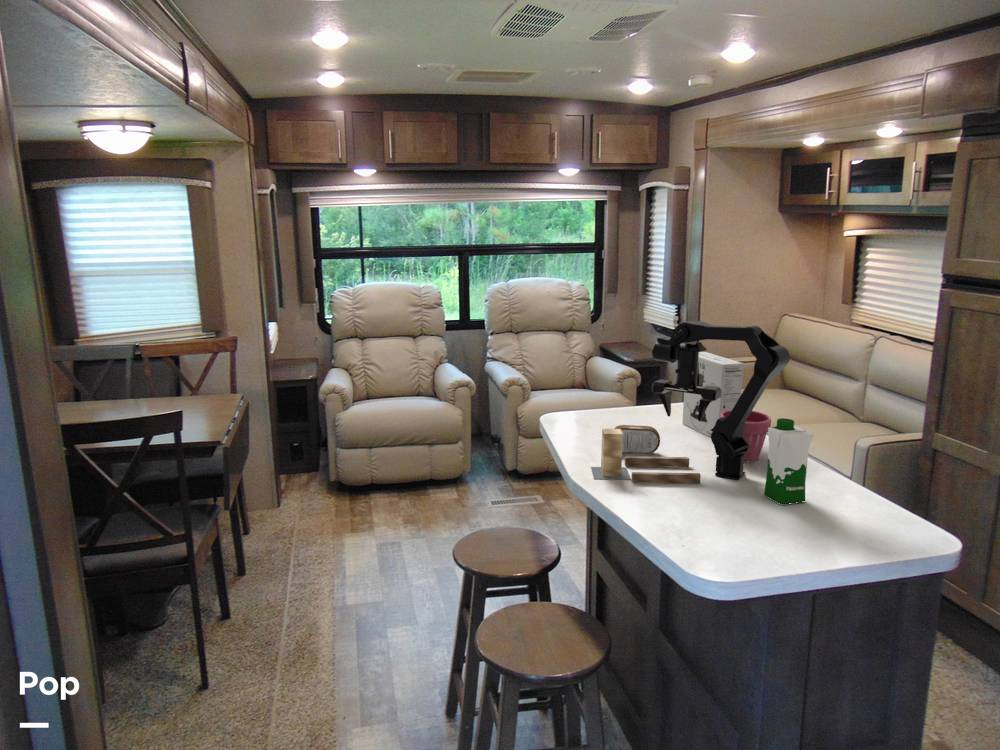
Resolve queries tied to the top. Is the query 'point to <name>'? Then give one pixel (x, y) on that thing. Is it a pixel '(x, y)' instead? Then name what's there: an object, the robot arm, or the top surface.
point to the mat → (598, 475)
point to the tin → (639, 439)
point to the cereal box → (717, 375)
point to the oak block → (611, 452)
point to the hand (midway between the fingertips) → (684, 418)
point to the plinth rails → (661, 477)
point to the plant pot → (754, 433)
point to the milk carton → (787, 462)
